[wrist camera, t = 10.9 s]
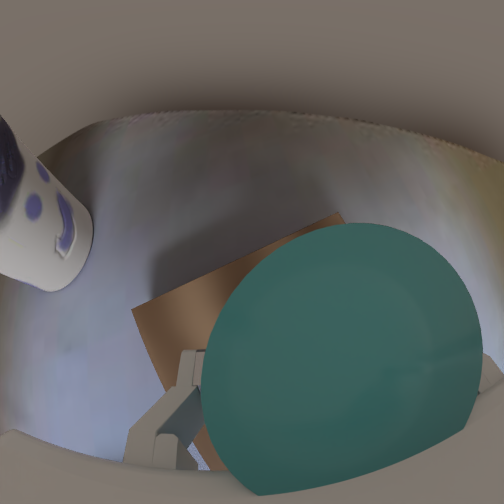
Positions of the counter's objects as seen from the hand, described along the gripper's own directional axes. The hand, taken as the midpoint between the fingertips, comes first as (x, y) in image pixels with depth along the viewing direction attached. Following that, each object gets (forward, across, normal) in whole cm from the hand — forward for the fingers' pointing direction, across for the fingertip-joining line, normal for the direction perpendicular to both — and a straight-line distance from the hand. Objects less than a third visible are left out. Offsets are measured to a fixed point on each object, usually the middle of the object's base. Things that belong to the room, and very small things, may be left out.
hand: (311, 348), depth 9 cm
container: (+16, +21, 0) cm, 27 cm away
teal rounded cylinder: (+4, 0, +5) cm, 6 cm away
